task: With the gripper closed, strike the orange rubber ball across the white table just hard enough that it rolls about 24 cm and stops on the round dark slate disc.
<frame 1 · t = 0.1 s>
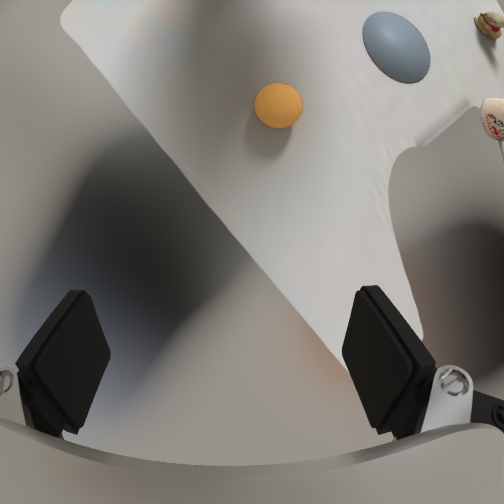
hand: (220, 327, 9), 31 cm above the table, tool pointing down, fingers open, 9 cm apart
teacup with lid: (494, 123, 34), on the table
chocolate bunny: (483, 27, 24), on the table
ball: (278, 105, 31), on the table
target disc: (398, 45, 29), on the table
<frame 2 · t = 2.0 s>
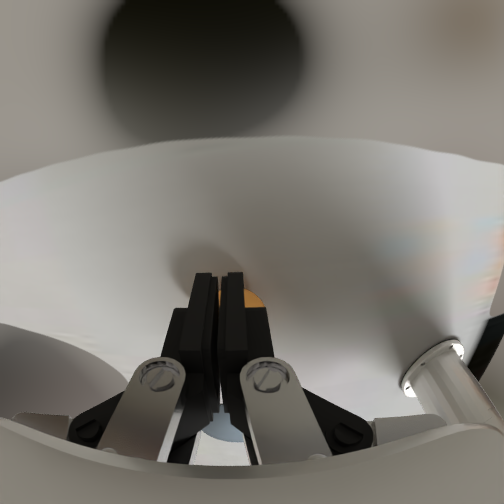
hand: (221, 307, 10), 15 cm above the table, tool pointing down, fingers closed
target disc: (240, 424, 37), on the table
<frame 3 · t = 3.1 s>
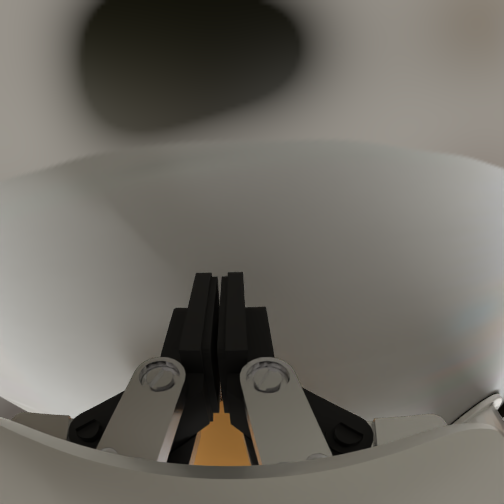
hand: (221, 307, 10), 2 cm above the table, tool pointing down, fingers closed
ball: (236, 445, 13), on the table
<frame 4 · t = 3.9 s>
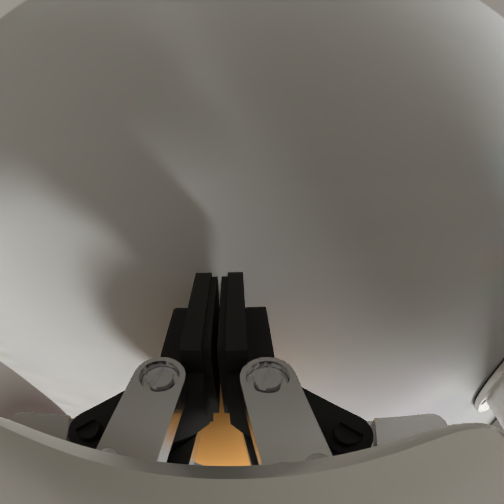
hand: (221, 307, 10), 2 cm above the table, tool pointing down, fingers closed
ball: (226, 407, 11), on the table
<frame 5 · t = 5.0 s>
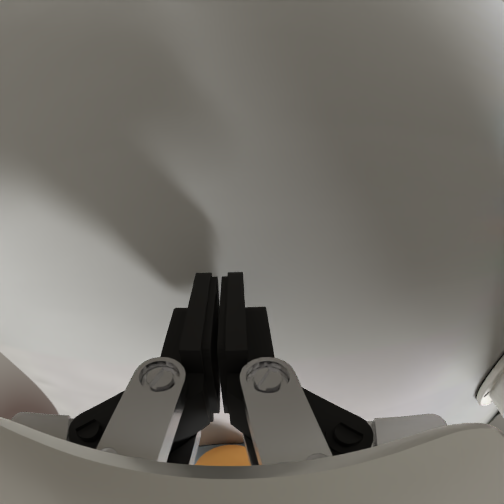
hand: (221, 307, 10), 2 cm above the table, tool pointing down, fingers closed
ball: (232, 479, 15), on the table
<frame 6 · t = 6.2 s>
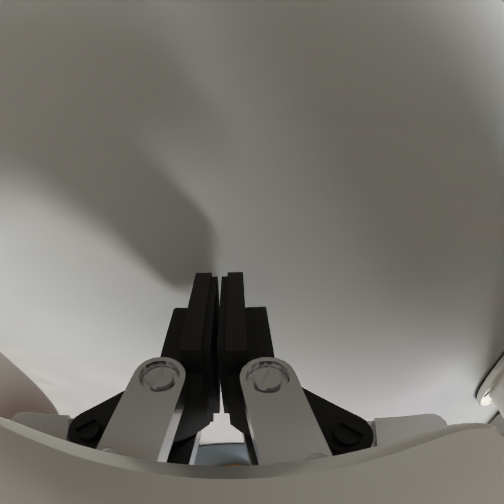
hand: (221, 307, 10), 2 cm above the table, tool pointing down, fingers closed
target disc: (237, 469, 20), on the table
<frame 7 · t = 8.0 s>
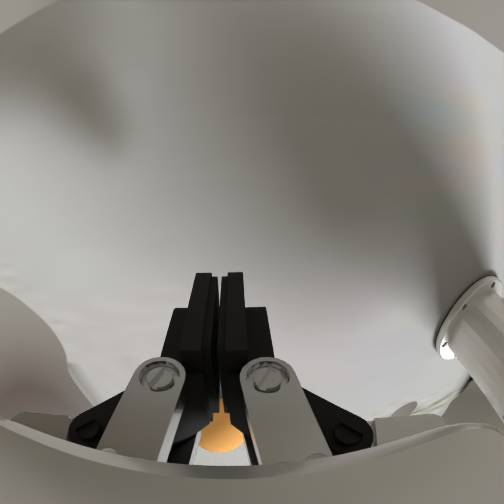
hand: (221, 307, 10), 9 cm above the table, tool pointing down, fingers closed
ball: (218, 425, 24), on the table
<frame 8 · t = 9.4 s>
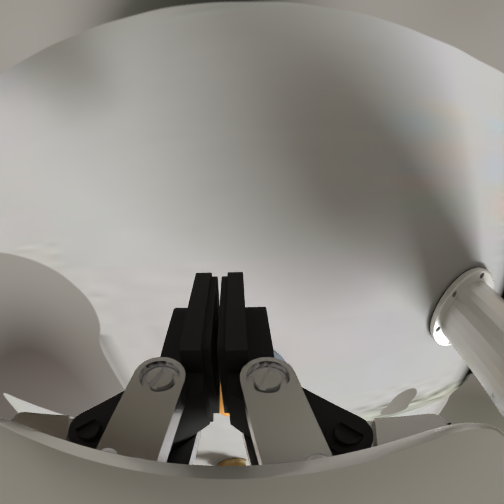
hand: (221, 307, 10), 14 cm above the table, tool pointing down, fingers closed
chocolate bunny: (232, 461, 44), on the table
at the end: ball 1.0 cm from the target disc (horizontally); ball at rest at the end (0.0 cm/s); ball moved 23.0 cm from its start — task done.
